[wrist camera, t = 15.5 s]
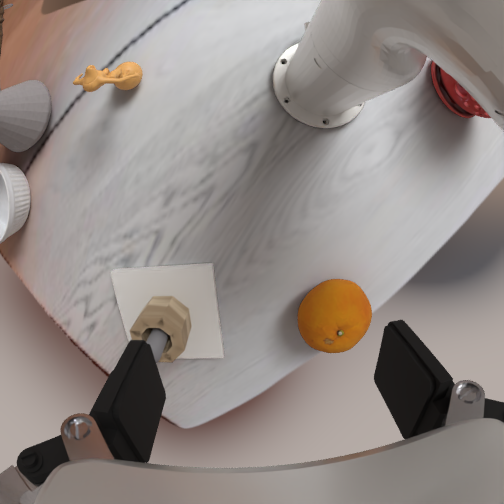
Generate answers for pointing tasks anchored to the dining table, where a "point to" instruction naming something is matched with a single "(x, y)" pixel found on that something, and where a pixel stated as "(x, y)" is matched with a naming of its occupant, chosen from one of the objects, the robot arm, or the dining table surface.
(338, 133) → the dining table surface
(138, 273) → the post board
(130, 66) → the figurine
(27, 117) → the coffee pot
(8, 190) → the ramekin
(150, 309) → the bead
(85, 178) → the dining table surface
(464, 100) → the plant pot
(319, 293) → the fruit
